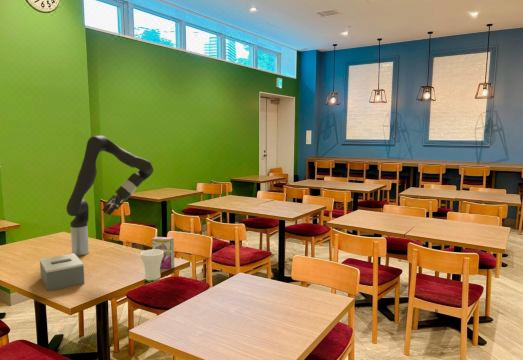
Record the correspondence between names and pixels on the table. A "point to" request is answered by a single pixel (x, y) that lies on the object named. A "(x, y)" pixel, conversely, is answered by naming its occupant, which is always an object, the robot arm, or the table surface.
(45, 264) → the coin box
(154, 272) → the cup
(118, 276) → the table surface
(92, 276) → the table surface
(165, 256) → the candy bar box
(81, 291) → the table surface
